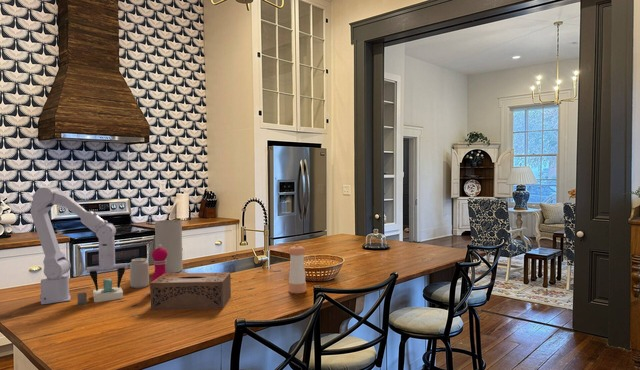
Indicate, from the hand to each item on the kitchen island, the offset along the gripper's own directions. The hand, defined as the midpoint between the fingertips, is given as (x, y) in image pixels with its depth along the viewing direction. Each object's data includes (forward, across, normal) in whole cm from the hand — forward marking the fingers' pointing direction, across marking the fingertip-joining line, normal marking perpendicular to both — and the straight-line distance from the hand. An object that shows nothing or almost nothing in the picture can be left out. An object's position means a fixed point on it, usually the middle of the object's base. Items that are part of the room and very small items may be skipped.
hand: (107, 288), depth 169 cm
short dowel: (+3, -9, -5) cm, 11 cm away
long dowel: (+3, 0, 0) cm, 3 cm away
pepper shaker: (+4, +68, -32) cm, 75 cm away
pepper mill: (+4, +19, -5) cm, 20 cm away
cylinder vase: (+4, +30, +34) cm, 45 cm away
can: (+4, +13, +11) cm, 17 cm away
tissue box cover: (+4, +27, -26) cm, 38 cm away
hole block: (+3, 0, 0) cm, 3 cm away
